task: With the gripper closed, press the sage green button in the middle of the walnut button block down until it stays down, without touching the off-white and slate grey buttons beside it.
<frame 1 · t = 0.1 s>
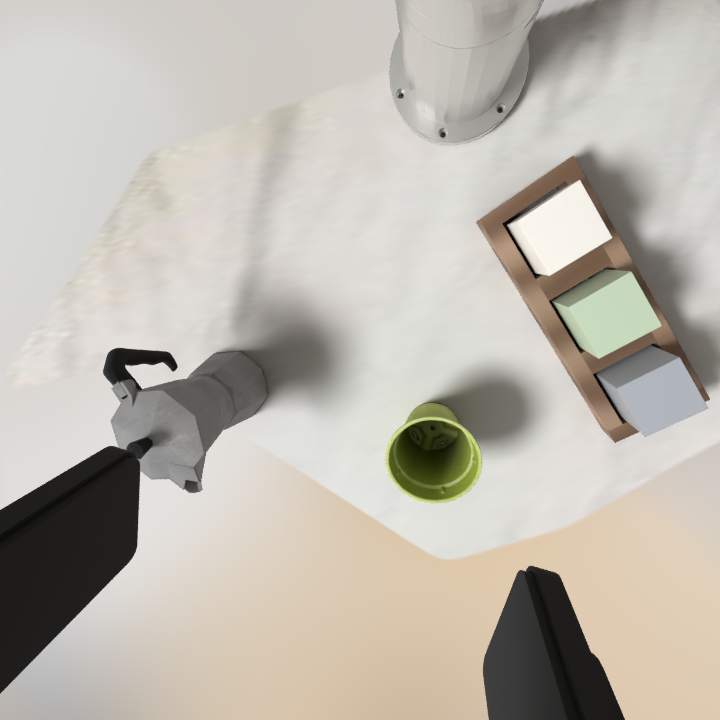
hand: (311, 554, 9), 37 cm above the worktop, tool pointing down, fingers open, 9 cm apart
plant pot: (432, 424, 47), on the worktop
grey button: (647, 389, 37), point 4 cm above the worktop, slide at 0.0 cm
coffeepot: (230, 376, 50), on the worktop
button housing: (584, 306, 41), on the worktop
sage button: (602, 312, 36), point 5 cm above the worktop, slide at 0.0 cm
white button: (555, 231, 35), point 5 cm above the worktop, slide at 0.0 cm
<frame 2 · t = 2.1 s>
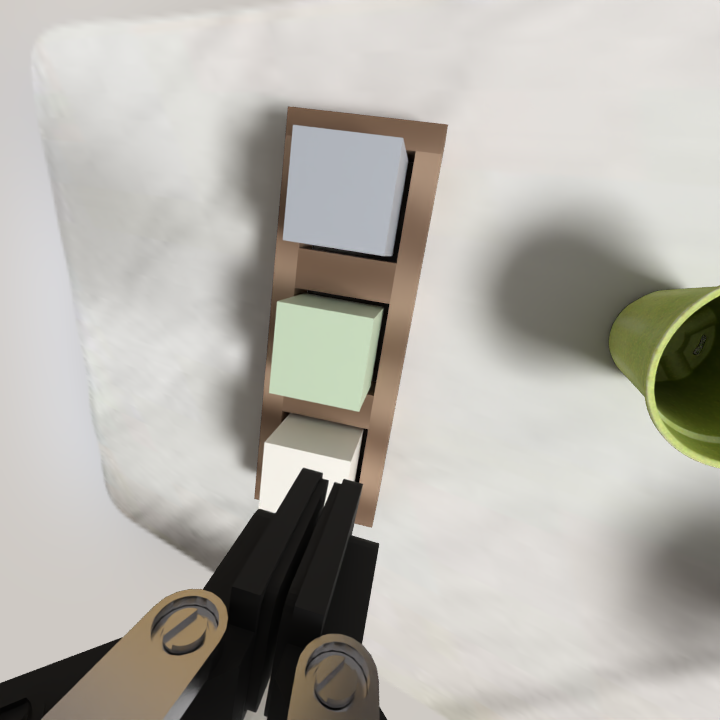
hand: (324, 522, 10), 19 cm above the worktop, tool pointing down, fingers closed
plant pot: (656, 337, 26), on the worktop
grey button: (349, 198, 22), point 5 cm above the worktop, slide at 0.0 cm
button housing: (344, 334, 29), on the worktop
sage button: (329, 347, 25), point 5 cm above the worktop, slide at 0.0 cm
white button: (313, 469, 27), point 5 cm above the worktop, slide at 0.0 cm
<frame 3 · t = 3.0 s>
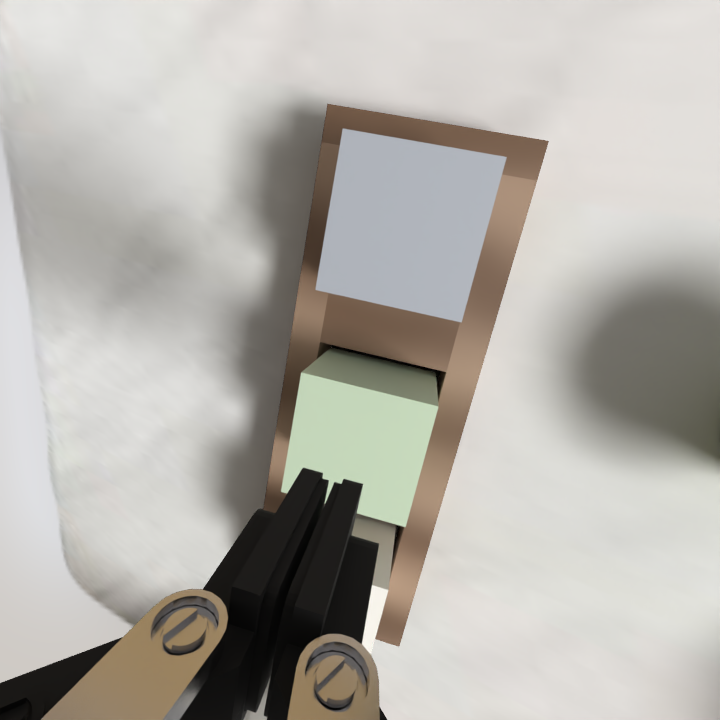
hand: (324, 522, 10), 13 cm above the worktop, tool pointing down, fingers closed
grey button: (407, 234, 16), point 5 cm above the worktop, slide at 0.0 cm
button housing: (376, 396, 23), on the worktop
sage button: (364, 427, 18), point 4 cm above the worktop, slide at 0.0 cm
white button: (330, 578, 21), point 5 cm above the worktop, slide at 0.0 cm
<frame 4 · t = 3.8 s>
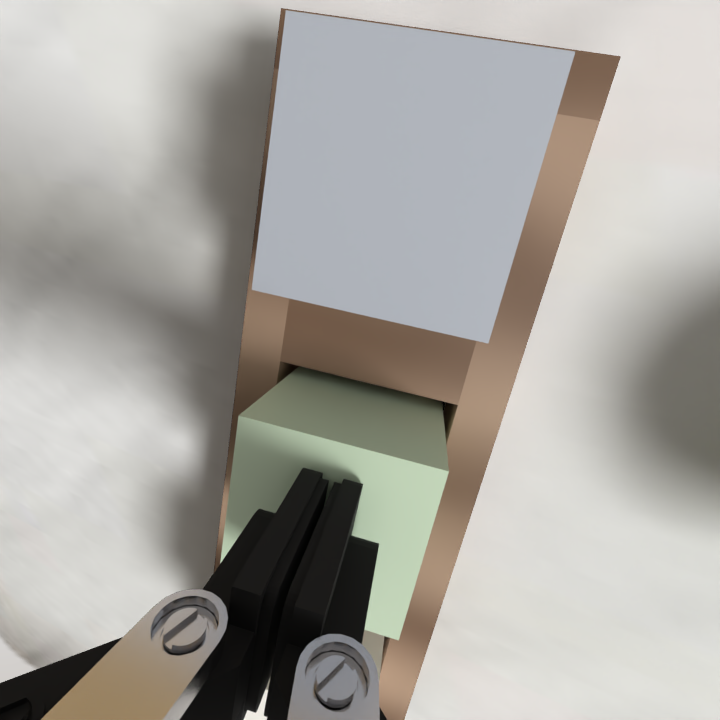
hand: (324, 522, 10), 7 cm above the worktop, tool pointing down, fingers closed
grey button: (400, 203, 10), point 5 cm above the worktop, slide at 0.0 cm
button housing: (362, 429, 17), on the worktop
sage button: (341, 482, 13), point 4 cm above the worktop, slide at 0.2 cm, touching gripper
white button: (299, 678, 15), point 5 cm above the worktop, slide at 0.0 cm
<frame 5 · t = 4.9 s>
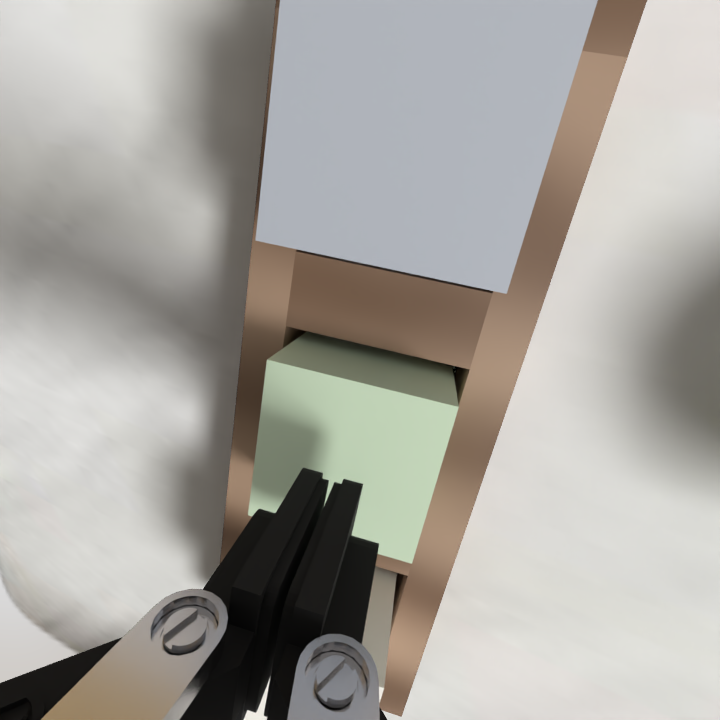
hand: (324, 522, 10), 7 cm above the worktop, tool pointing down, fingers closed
grey button: (412, 150, 10), point 4 cm above the worktop, slide at 0.0 cm
button housing: (370, 398, 17), on the worktop
sage button: (357, 429, 14), point 3 cm above the worktop, slide at 1.6 cm
white button: (308, 643, 15), point 5 cm above the worktop, slide at 0.0 cm
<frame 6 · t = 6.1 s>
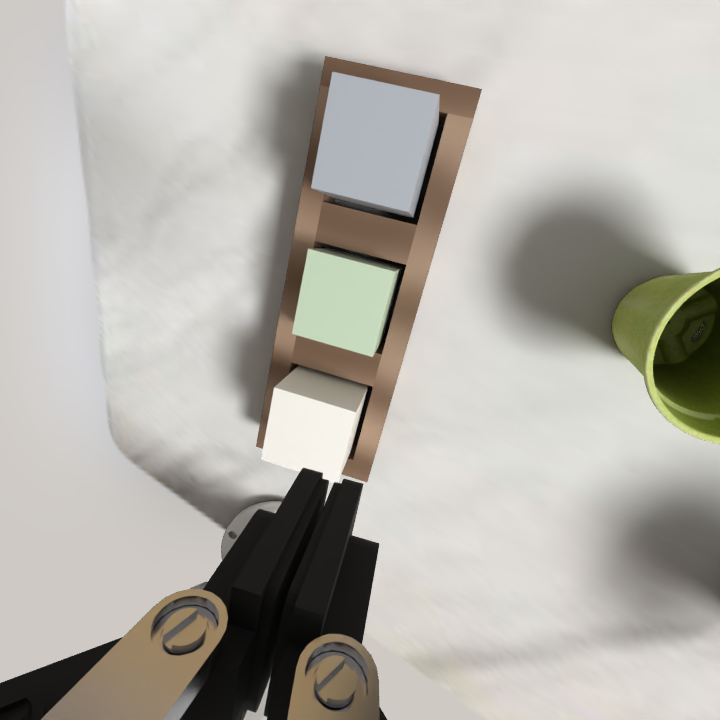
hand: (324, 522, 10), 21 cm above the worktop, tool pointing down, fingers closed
plant pot: (658, 321, 27), on the worktop
grey button: (378, 154, 23), point 5 cm above the worktop, slide at 0.0 cm
button housing: (357, 294, 30), on the worktop
sage button: (349, 299, 27), point 3 cm above the worktop, slide at 1.6 cm
white button: (317, 420, 28), point 5 cm above the worktop, slide at 0.0 cm
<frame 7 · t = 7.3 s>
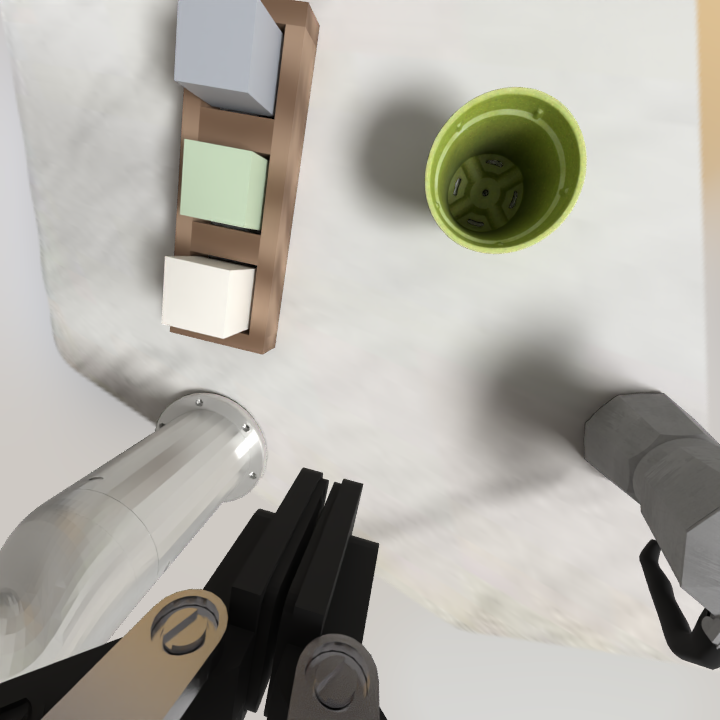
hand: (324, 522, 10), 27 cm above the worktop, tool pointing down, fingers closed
plant pot: (483, 195, 32), on the worktop
grey button: (231, 57, 29), point 5 cm above the worktop, slide at 0.0 cm
coffeepot: (629, 447, 36), on the worktop
button housing: (246, 194, 35), on the worktop
sage button: (230, 189, 33), point 3 cm above the worktop, slide at 1.6 cm
white button: (211, 295, 34), point 5 cm above the worktop, slide at 0.0 cm
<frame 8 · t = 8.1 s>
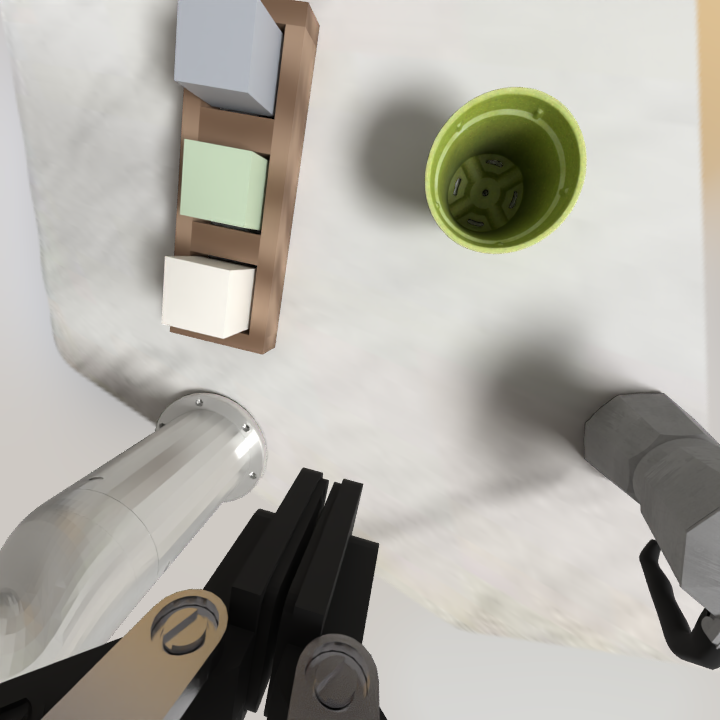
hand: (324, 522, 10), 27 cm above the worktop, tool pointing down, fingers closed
plant pot: (483, 195, 32), on the worktop
grey button: (231, 57, 29), point 5 cm above the worktop, slide at 0.0 cm
coffeepot: (629, 447, 36), on the worktop
button housing: (245, 194, 35), on the worktop
sage button: (230, 189, 33), point 3 cm above the worktop, slide at 1.6 cm
white button: (211, 295, 34), point 5 cm above the worktop, slide at 0.0 cm
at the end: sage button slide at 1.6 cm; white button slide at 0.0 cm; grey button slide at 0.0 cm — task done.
